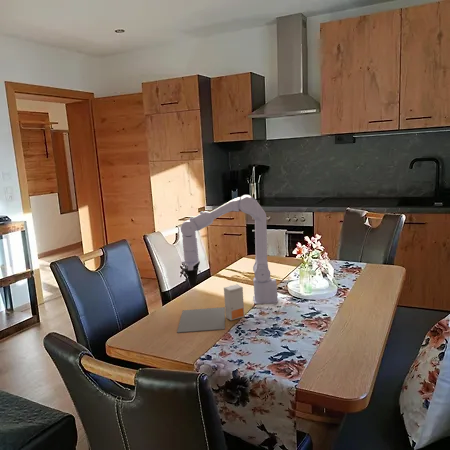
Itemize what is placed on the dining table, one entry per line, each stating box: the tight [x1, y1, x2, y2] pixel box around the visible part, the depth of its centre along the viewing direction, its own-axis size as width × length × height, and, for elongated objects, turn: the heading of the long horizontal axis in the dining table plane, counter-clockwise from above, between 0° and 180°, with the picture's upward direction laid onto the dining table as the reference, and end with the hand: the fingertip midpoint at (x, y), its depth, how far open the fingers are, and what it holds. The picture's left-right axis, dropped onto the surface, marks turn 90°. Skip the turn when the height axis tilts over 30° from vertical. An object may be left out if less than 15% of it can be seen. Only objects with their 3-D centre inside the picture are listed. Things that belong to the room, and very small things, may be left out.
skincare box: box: [223, 284, 245, 321], centre depth 157 cm, size 6×4×12 cm
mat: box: [176, 306, 226, 334], centre depth 158 cm, size 17×20×1 cm
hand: (193, 282), depth 171 cm, fingers open, 7 cm apart
